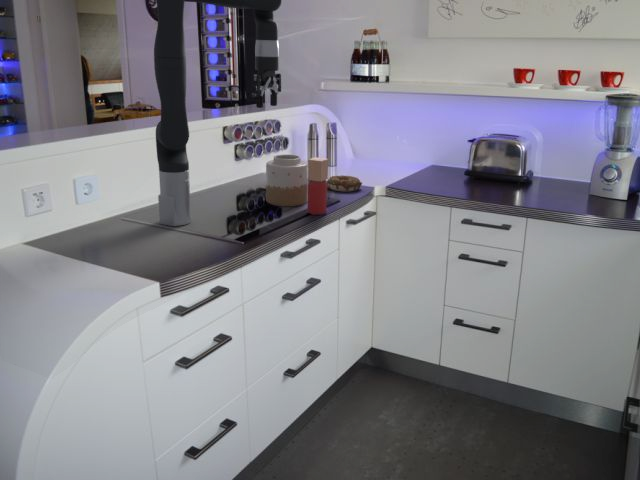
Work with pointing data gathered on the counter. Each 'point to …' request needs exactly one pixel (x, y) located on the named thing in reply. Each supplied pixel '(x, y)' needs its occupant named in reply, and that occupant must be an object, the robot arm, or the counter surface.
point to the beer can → (317, 197)
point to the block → (317, 169)
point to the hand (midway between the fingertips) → (266, 106)
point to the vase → (286, 181)
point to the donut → (344, 183)
